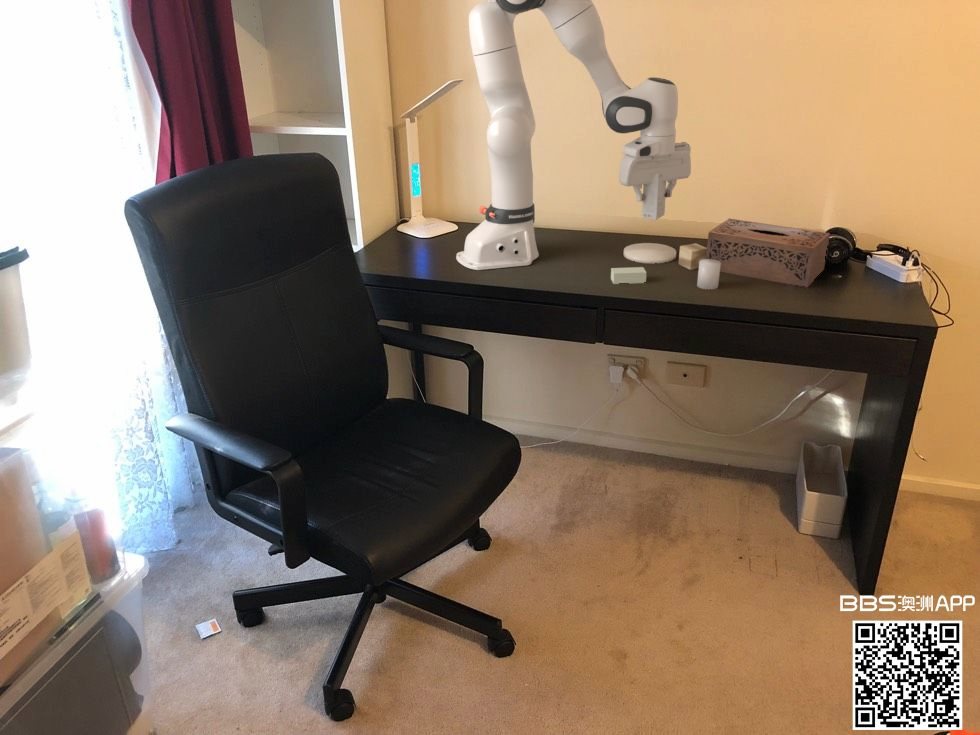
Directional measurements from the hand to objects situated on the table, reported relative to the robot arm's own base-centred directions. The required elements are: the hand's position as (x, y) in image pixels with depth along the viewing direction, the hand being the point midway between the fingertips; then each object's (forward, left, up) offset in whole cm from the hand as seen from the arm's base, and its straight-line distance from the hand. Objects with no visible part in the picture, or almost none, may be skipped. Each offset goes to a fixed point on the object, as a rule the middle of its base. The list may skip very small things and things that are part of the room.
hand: (653, 198), depth 210 cm
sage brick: (-16, -14, -16) cm, 26 cm away
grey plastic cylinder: (-1, -26, -16) cm, 30 cm away
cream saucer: (0, 0, -15) cm, 15 cm away
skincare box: (0, 0, -5) cm, 5 cm away
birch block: (+5, -12, -16) cm, 20 cm away
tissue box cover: (+19, -23, -16) cm, 34 cm away
